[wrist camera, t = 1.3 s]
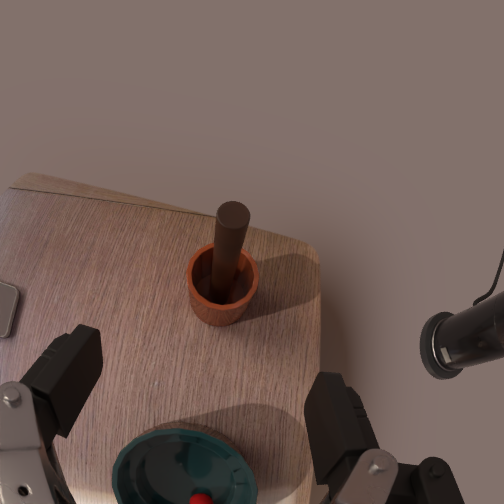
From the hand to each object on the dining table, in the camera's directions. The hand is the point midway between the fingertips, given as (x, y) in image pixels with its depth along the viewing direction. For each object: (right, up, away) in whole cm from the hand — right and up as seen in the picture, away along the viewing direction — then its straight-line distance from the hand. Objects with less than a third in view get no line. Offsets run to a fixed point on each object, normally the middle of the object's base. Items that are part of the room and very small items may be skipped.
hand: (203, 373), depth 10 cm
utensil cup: (-2, -1, +26) cm, 26 cm away
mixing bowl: (-6, -21, +16) cm, 27 cm away
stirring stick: (-2, -1, +25) cm, 26 cm away
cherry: (-4, -23, +13) cm, 27 cm away
